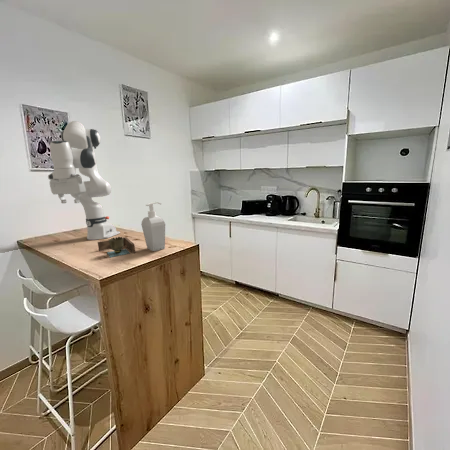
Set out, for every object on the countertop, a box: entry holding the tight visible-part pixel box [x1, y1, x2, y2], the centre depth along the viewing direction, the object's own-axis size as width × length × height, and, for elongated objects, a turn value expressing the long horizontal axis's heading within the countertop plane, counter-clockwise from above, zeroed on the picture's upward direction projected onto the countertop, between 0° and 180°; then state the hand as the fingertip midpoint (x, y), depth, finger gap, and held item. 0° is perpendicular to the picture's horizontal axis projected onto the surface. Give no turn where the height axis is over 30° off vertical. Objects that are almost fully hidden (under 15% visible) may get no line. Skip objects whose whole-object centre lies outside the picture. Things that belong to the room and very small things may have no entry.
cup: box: [107, 236, 124, 253], centre depth 138 cm, size 8×7×8 cm
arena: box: [97, 236, 136, 259], centre depth 142 cm, size 16×20×5 cm
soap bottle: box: [141, 201, 166, 252], centre depth 142 cm, size 12×10×26 cm
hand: (70, 203), depth 127 cm, fingers open, 8 cm apart
